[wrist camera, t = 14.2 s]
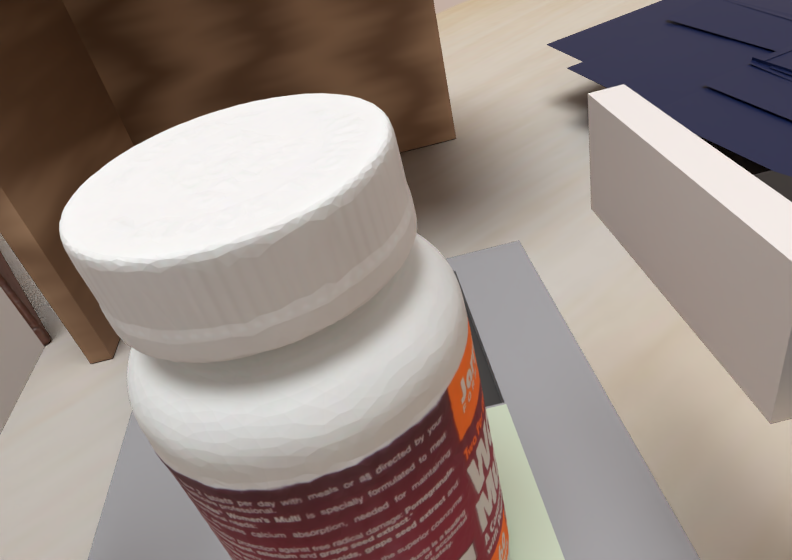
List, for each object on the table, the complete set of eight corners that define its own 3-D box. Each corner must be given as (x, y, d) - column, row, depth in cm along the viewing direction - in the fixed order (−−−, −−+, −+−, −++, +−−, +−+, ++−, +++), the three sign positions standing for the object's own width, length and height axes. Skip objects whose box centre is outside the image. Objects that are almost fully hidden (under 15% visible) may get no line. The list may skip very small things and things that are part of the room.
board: (20, 865, 13) (-7, 853, 13) (163, 345, 27) (153, 328, 26) (759, 689, 13) (766, 668, 12) (520, 255, 27) (518, 236, 26)
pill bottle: (563, 606, 14) (515, 155, 7) (310, 751, 13) (-13, 365, 6) (443, 425, 19) (351, 53, 12) (252, 517, 18) (36, 161, 11)
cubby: (90, 363, 27) (-183, -33, 18) (153, 208, 39) (9, -79, 30) (520, 255, 27) (469, -204, 18) (452, 132, 39) (400, -181, 29)
